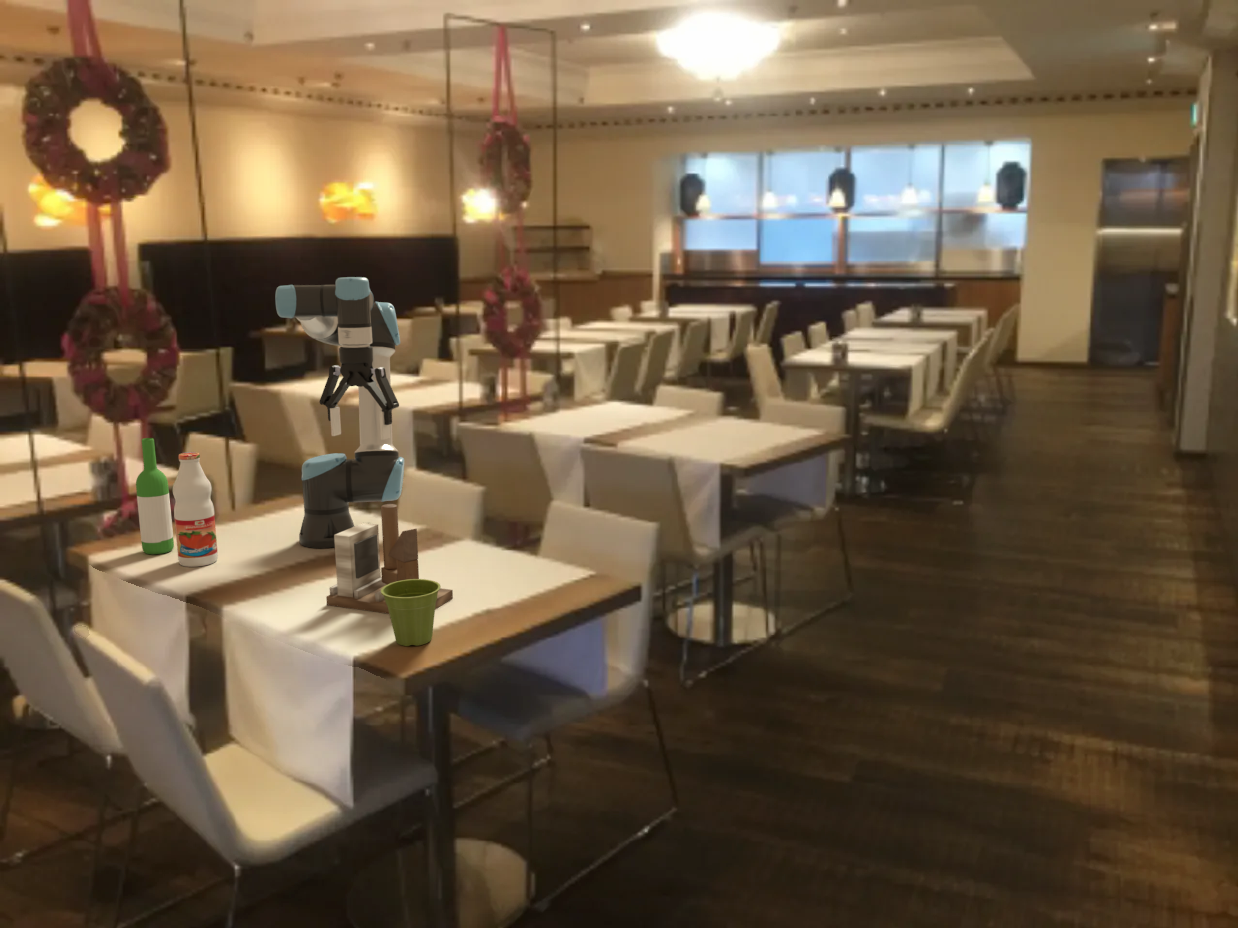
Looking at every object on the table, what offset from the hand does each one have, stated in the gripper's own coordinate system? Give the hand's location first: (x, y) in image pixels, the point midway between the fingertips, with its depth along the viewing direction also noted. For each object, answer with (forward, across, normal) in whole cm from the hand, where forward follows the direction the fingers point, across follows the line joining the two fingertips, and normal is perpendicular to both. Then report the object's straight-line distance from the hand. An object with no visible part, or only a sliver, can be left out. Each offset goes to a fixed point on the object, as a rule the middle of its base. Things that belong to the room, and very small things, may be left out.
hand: (360, 437), depth 253 cm
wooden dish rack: (+35, +14, -12) cm, 39 cm away
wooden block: (+31, +17, -12) cm, 37 cm away
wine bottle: (+35, -66, +1) cm, 75 cm away
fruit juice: (+35, -49, -3) cm, 60 cm away
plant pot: (+35, +32, -31) cm, 57 cm away
